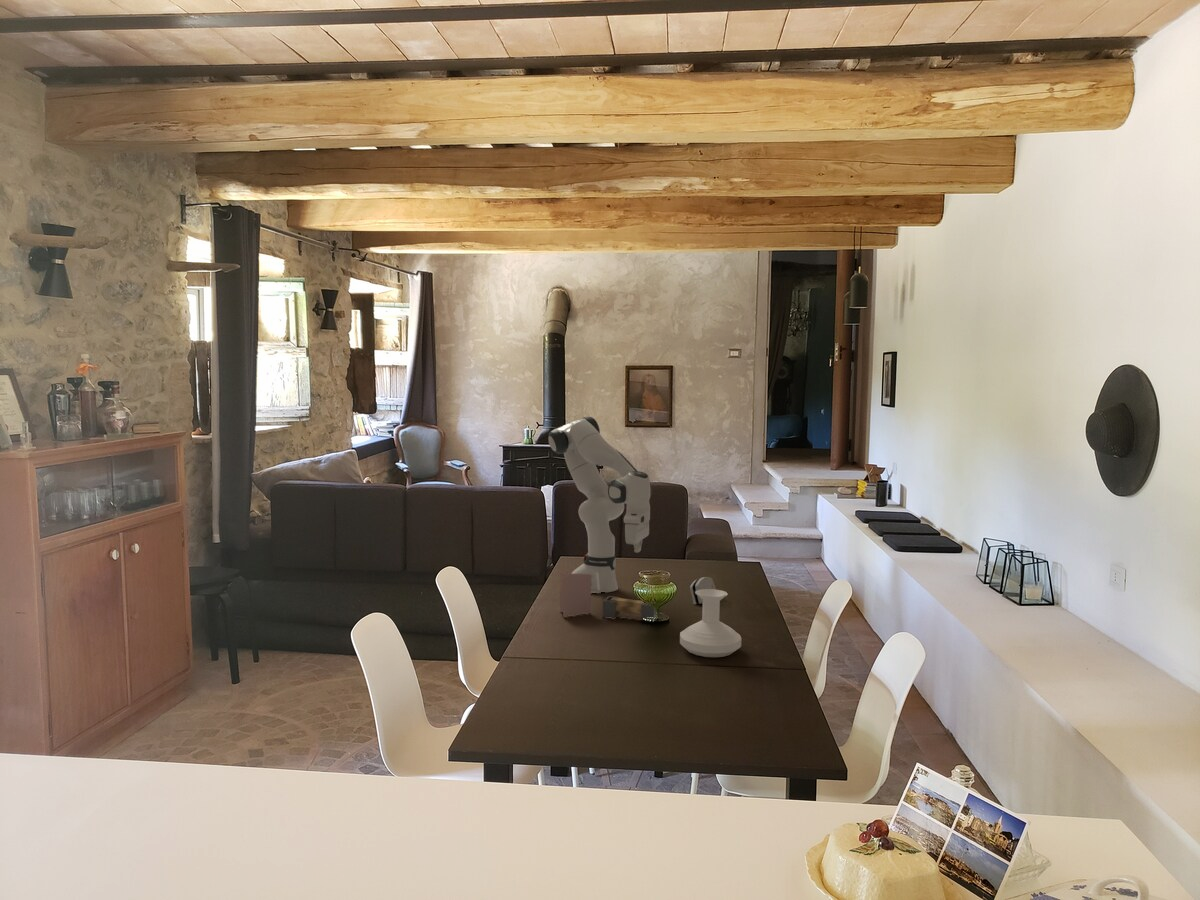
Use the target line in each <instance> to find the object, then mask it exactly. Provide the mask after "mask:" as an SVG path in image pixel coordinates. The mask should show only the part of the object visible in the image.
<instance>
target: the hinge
mask: <svg viewBox="0 0 1200 900" xmlns="http://www.w3.org/2000/svg"><path fill="white" fill-rule="evenodd" d="M702 589H716V590H717V588H716V585H715V582H714V579H713V578H712V577H710V576H705V577H704V576H703V577H699V578H697V579H695V580H694V581H693V582H692V583H691V584H690V586H689V591H690V595H691V599H692V602H693V603H692V604H693V605H694V604H695V605H698V604H699V605H700V604H703V599H701V598H700V597H699V596H698V595H697V594H696V593H695V592H696V591H697V590H702Z"/></svg>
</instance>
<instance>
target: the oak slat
mask: <svg viewBox="0 0 1200 900" xmlns="http://www.w3.org/2000/svg"><path fill="white" fill-rule="evenodd" d="M615 597H616V596H614V597H613V598H612V599H610V601H616V611H620V613H628V614H637V615H641V605H642V604H646V603H644V602H643V601H644V600H640V599H639V600H638V599H629V598H621V597H620V598H615ZM647 605H648V604H647Z"/></svg>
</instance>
